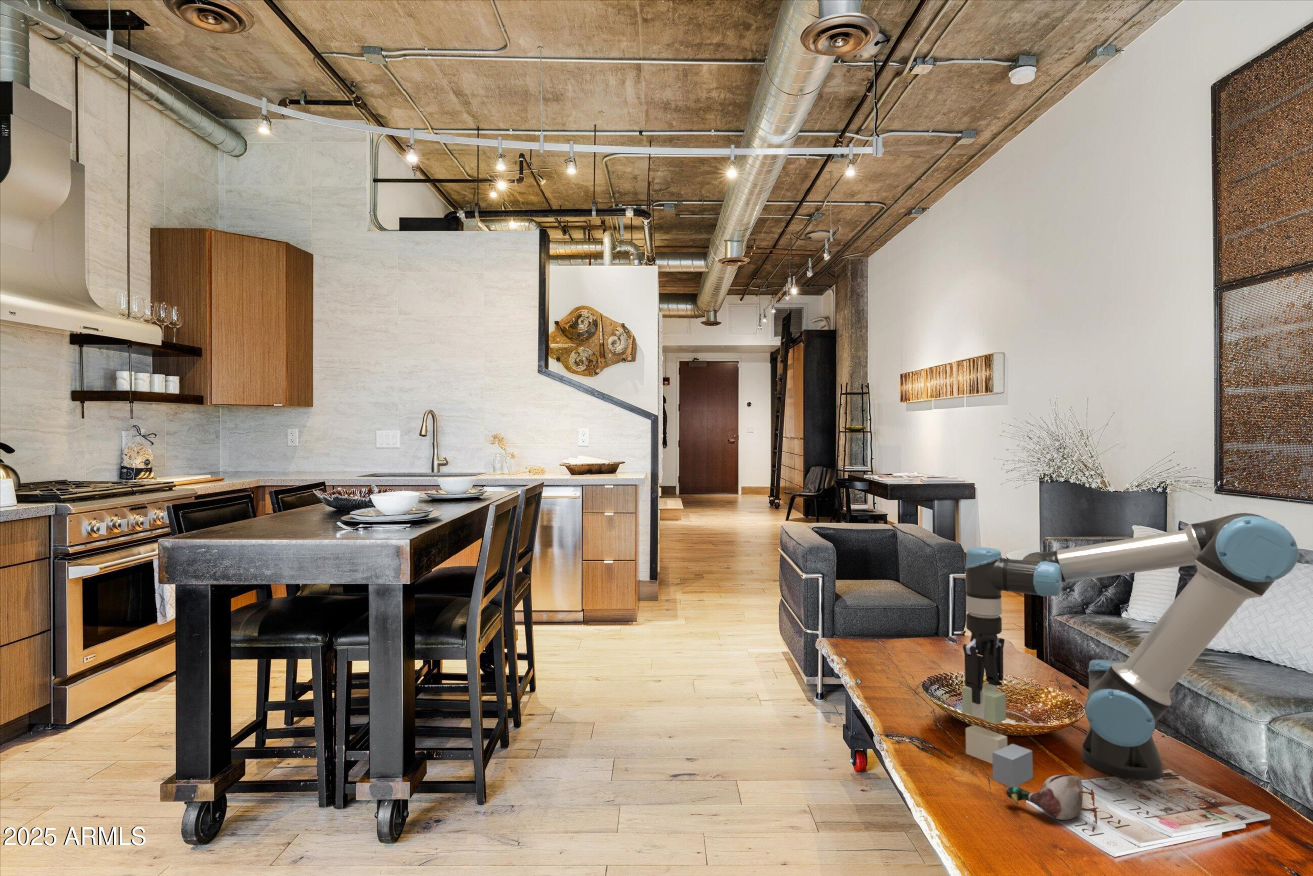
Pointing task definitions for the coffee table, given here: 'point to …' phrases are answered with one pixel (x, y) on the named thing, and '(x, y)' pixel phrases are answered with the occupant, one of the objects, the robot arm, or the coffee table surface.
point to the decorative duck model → (1056, 797)
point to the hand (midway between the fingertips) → (984, 714)
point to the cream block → (983, 743)
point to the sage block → (987, 704)
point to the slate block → (1012, 765)
